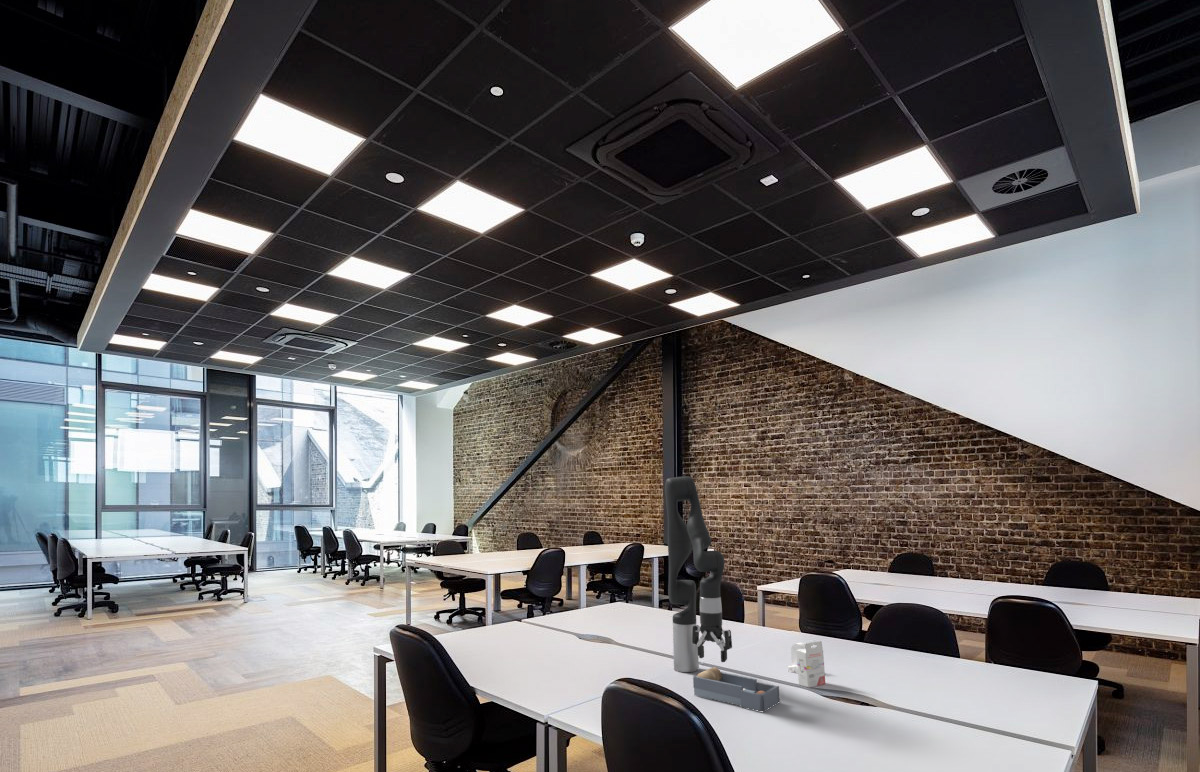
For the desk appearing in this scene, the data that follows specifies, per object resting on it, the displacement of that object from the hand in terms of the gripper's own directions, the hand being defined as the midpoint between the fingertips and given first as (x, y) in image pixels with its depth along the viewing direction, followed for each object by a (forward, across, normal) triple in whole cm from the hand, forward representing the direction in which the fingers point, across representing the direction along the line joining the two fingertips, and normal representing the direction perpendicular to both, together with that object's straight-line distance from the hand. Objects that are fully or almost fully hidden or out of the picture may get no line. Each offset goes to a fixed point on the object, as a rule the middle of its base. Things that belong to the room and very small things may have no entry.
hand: (712, 659), depth 215 cm
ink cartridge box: (+11, -22, -32) cm, 40 cm away
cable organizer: (+11, -12, -46) cm, 48 cm away
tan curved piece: (+9, +1, 0) cm, 9 cm away
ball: (+9, -18, 0) cm, 20 cm away
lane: (+11, -8, 0) cm, 14 cm away
